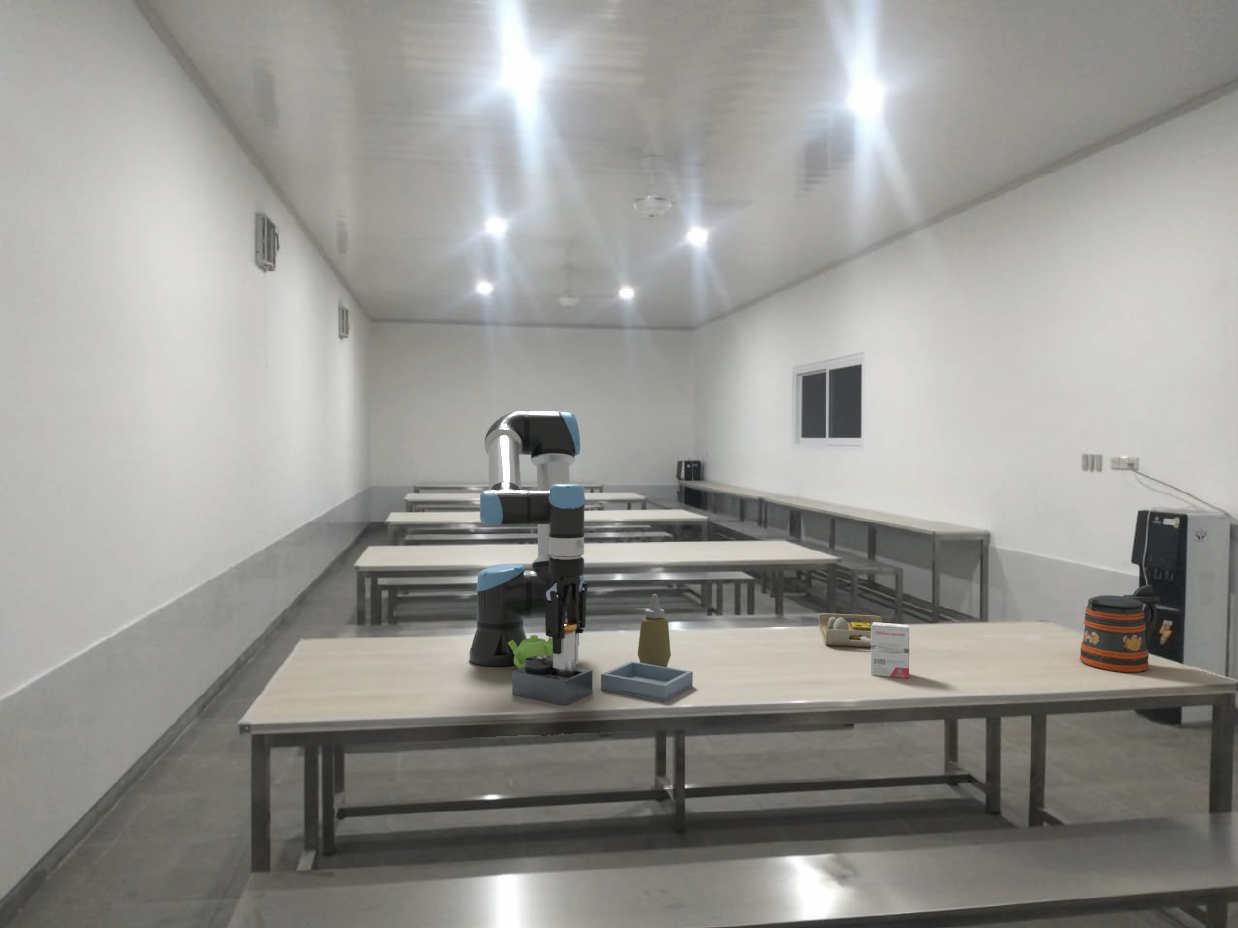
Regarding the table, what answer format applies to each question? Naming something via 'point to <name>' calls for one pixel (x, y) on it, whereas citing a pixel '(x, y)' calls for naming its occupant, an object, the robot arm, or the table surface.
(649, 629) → the squeeze bottle
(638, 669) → the parts tray
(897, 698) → the table surface
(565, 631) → the glass jar with lid
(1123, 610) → the beer stein
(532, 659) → the grey boxy piece
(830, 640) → the toy food set
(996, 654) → the table surface
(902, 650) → the ink box
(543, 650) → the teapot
